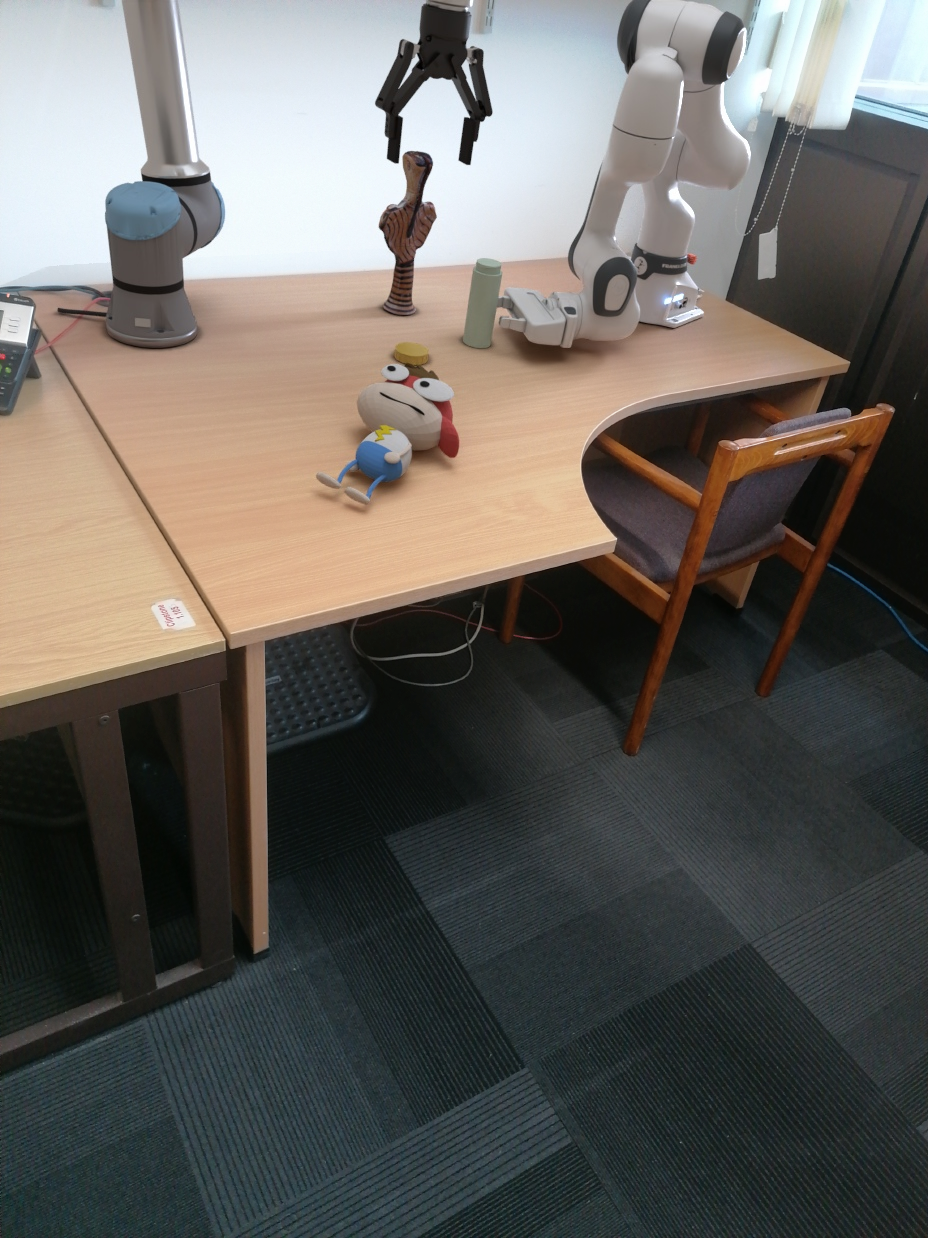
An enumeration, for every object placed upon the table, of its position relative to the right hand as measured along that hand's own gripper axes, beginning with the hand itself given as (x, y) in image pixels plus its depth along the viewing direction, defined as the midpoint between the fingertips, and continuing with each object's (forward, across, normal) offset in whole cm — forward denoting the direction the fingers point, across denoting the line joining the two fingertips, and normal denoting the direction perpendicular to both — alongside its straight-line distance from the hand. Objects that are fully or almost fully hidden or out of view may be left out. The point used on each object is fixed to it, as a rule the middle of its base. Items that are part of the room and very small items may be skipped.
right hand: (493, 312), depth 173 cm
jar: (+3, 0, +6) cm, 7 cm away
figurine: (+15, -15, +6) cm, 22 cm away
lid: (+18, +9, +5) cm, 20 cm away
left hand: (+18, +9, -27) cm, 34 cm away
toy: (+28, +47, +6) cm, 55 cm away
